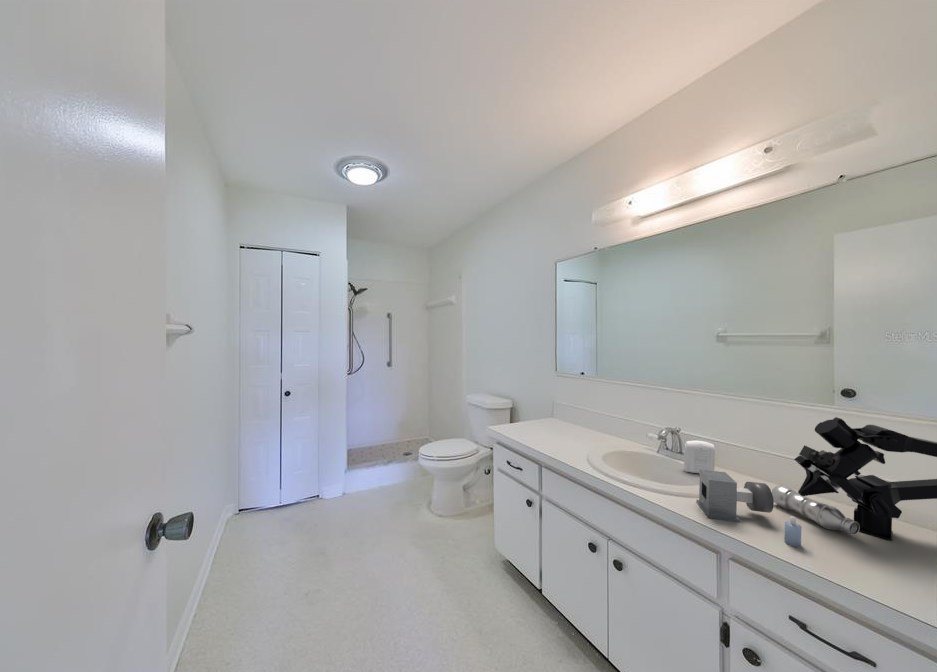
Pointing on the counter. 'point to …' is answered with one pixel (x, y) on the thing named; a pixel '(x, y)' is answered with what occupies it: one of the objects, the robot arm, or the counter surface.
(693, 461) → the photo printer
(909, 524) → the counter surface
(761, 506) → the knob
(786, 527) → the small blue bottle
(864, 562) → the counter surface
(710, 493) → the mount
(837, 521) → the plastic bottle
